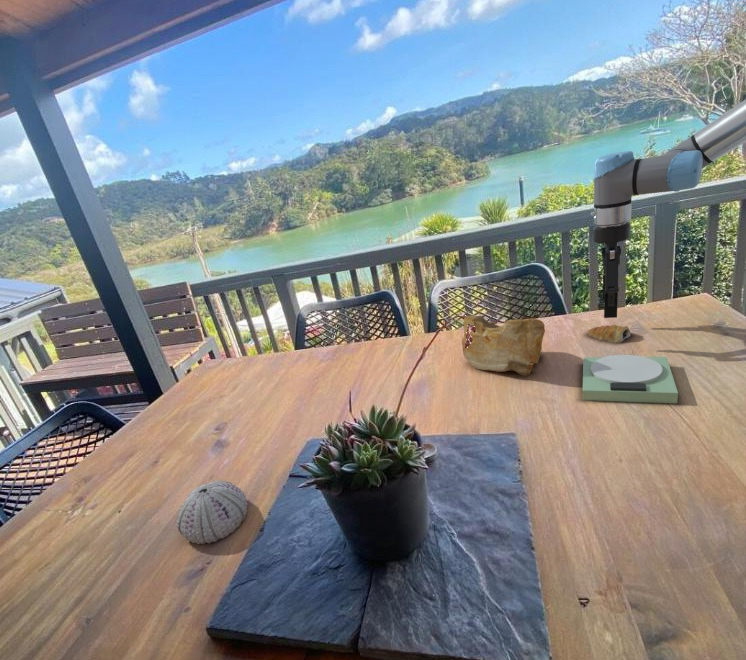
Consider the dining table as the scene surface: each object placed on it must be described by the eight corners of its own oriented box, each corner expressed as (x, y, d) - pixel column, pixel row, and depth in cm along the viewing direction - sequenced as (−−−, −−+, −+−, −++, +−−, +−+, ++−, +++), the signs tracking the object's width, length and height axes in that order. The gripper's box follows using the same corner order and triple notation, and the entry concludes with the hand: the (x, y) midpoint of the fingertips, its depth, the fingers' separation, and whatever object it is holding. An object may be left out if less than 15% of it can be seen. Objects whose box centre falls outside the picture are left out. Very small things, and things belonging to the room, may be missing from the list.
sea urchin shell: (253, 491, 90) (241, 459, 87) (249, 539, 78) (235, 504, 75) (190, 508, 90) (176, 477, 87) (176, 560, 77) (159, 526, 74)
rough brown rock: (575, 365, 108) (575, 307, 103) (533, 388, 101) (531, 326, 96) (498, 349, 127) (496, 300, 123) (458, 367, 120) (453, 315, 115)
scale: (665, 368, 97) (666, 353, 95) (677, 406, 84) (678, 389, 83) (583, 368, 105) (583, 354, 103) (582, 402, 92) (582, 387, 91)
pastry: (583, 340, 118) (583, 327, 116) (595, 331, 121) (595, 318, 119) (620, 346, 110) (621, 332, 109) (633, 336, 114) (633, 322, 112)
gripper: (593, 216, 115) (592, 292, 123) (593, 237, 96) (592, 326, 104) (626, 211, 111) (623, 290, 120) (634, 232, 92) (630, 325, 100)
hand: (609, 307), depth 112 cm, fingers open, 13 cm apart
